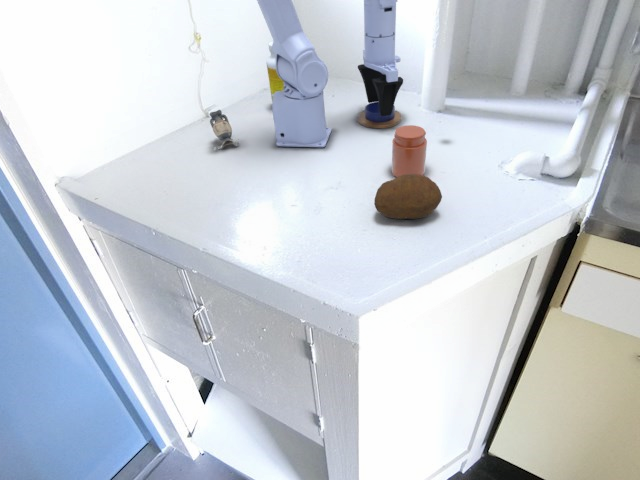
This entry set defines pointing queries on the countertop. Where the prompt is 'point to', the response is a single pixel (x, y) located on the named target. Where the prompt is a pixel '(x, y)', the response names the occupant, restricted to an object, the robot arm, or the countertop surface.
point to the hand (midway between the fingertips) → (379, 108)
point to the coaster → (370, 124)
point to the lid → (377, 113)
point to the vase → (222, 129)
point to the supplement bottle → (273, 73)
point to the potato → (408, 197)
